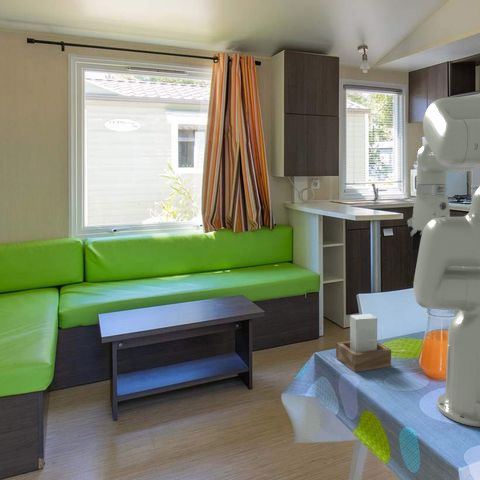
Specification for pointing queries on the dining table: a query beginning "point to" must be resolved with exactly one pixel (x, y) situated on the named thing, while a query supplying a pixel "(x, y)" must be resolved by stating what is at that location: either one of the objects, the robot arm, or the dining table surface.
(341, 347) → the small open wooden box
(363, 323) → the skincare box
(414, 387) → the dining table surface
